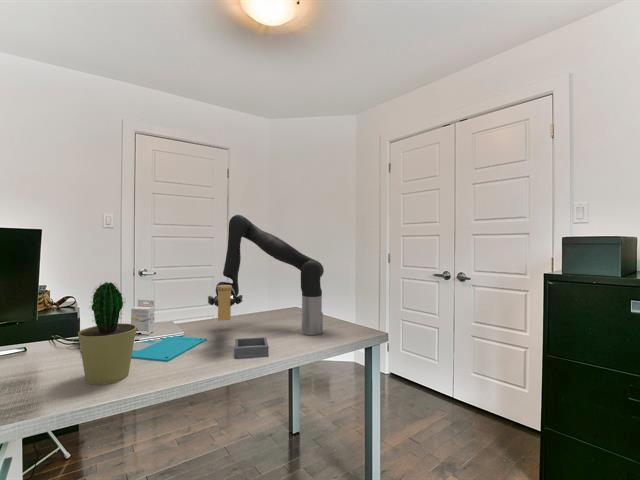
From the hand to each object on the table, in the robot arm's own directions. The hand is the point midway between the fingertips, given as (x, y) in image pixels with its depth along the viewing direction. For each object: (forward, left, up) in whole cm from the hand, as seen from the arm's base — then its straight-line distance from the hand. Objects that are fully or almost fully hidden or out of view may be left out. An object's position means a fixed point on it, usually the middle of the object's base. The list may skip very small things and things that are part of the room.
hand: (224, 303), depth 127 cm
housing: (-10, 0, -19) cm, 21 cm away
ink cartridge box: (+37, -35, -19) cm, 54 cm away
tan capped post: (0, -3, -6) cm, 7 cm away
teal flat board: (+26, -13, -19) cm, 35 cm away
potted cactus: (+34, +15, -19) cm, 42 cm away
